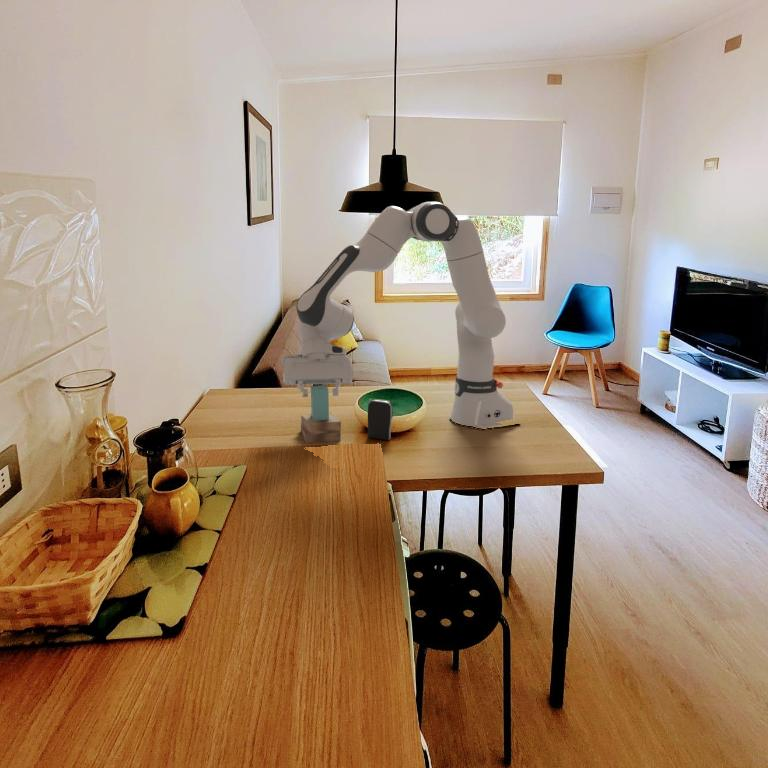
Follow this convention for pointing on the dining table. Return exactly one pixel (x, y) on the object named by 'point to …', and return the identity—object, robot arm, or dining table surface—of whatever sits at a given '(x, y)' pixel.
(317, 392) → the teal post
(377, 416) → the battery
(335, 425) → the tower top
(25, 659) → the dining table surface
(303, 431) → the tower base
